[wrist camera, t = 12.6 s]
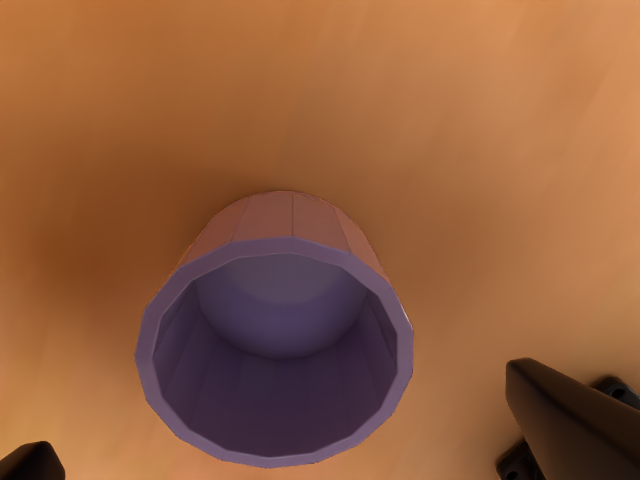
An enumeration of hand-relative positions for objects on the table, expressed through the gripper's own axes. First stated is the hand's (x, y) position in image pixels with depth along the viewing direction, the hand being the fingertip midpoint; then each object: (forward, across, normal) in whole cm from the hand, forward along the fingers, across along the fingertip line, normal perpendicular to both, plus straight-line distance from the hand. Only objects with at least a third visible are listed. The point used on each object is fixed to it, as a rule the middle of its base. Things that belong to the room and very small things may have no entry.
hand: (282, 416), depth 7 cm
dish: (+6, 0, 0) cm, 6 cm away
